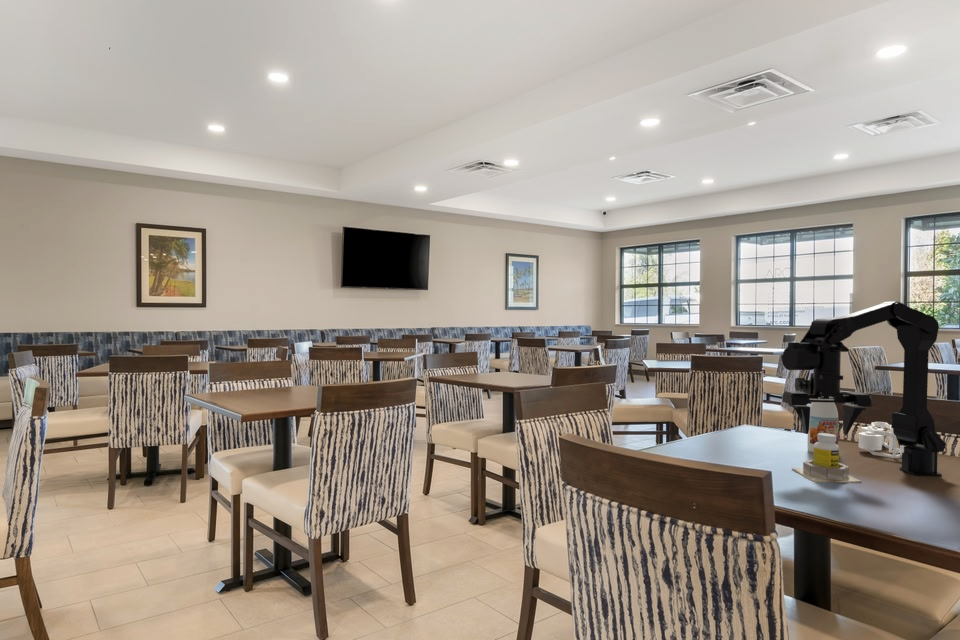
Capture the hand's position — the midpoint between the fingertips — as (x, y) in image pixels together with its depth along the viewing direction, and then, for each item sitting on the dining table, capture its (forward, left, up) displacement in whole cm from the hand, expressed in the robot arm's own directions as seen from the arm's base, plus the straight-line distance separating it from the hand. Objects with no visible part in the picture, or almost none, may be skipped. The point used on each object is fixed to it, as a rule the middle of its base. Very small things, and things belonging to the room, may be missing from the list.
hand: (825, 434), depth 147 cm
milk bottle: (-13, -28, -11) cm, 33 cm away
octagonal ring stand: (0, 0, -11) cm, 11 cm away
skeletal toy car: (-32, -32, -11) cm, 47 cm away
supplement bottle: (0, 0, -10) cm, 10 cm away
